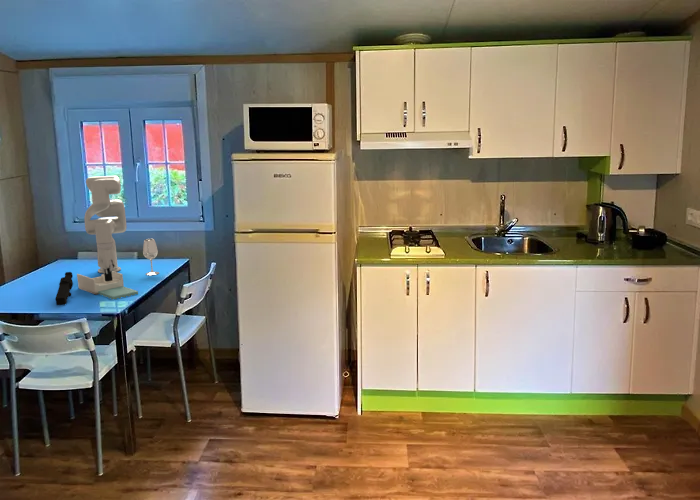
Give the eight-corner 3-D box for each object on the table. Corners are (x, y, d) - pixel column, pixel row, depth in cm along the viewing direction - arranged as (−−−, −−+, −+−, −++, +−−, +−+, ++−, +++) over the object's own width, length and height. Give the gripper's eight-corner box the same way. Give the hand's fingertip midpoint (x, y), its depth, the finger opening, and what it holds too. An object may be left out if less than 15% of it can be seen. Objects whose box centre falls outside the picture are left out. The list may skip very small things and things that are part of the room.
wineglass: (155, 275, 341) (152, 241, 336) (142, 275, 342) (139, 240, 338) (162, 272, 348) (159, 238, 344) (149, 272, 350) (146, 238, 346)
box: (78, 288, 317) (76, 273, 315) (106, 282, 327) (104, 268, 326) (95, 294, 303) (94, 279, 302) (123, 288, 314) (122, 274, 312)
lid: (98, 295, 304) (98, 291, 304) (123, 289, 314) (122, 286, 313) (113, 300, 294) (113, 296, 293) (138, 295, 303) (137, 291, 302)
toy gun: (77, 285, 311) (73, 268, 306) (69, 312, 290) (65, 295, 285) (65, 286, 309) (61, 269, 305) (56, 313, 288) (52, 296, 284)
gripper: (91, 245, 306) (95, 280, 310) (104, 248, 296) (108, 284, 300) (105, 243, 312) (109, 277, 315) (119, 246, 302) (122, 281, 305)
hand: (108, 280), depth 308 cm, fingers closed
